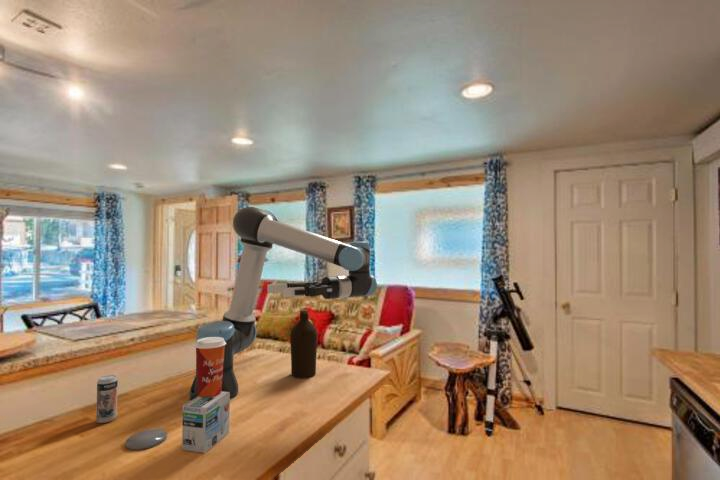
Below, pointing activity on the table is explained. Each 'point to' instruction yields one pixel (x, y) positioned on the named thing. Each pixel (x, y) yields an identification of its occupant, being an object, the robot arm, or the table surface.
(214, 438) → the light bulb box
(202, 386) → the paper cup
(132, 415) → the table surface
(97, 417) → the beer can
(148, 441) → the slate coaster
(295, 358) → the olive oil
